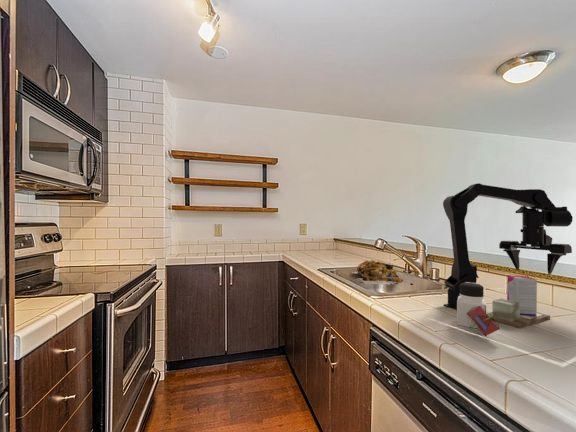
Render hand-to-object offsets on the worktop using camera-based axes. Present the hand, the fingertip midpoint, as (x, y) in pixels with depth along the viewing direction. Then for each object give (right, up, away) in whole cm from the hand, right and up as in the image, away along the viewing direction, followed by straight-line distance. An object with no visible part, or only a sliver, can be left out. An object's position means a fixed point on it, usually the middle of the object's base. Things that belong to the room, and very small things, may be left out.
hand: (533, 271), depth 102 cm
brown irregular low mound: (-36, -14, +55) cm, 67 cm away
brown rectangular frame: (-12, -13, -9) cm, 20 cm away
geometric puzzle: (-32, -13, -23) cm, 42 cm away
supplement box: (-10, -12, -7) cm, 17 cm away
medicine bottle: (-30, -13, -14) cm, 35 cm away
